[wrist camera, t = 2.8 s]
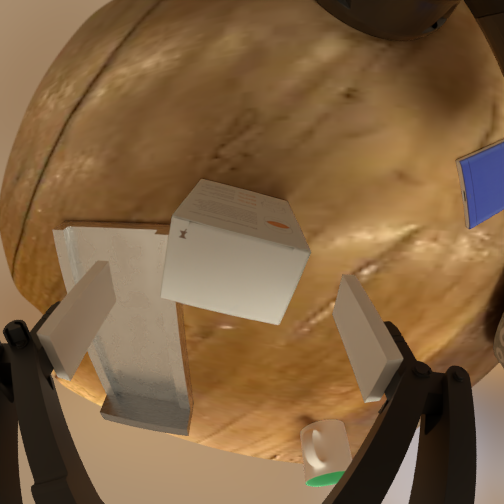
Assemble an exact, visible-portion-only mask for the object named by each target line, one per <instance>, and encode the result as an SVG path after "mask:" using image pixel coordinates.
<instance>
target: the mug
mask: <svg viewBox="0 0 504 504" xmlns="http://www.w3.org/2000/svg"><path fill="white" fill-rule="evenodd" d="M300 438H301V447H302V455H303V464H304V473H305V482H306V485H308V486H314V487H317V486H327V485H332V484H336V483H338V481H339V480H340V478H341V477H342V475H343V474H344V472H345V471H346V469H347V468H348V466H349V465H350V463H351V462H352V457H351V452H350V447H349V443H348V439H347V434H346V430H345V426H344V423H343V422H342V421H340V420H335V419H328V420H321V421H317V422H314V423H311V424H309V425H307V426H306V427H304V428H303V429H302V430H301V431H300Z"/></svg>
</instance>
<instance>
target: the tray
mask: <svg viewBox="0 0 504 504" xmlns="http://www.w3.org/2000/svg"><path fill="white" fill-rule="evenodd" d="M169 230H170V224H149V223H121V222H88V221H64V222H63V223H62V224H60V225H59V226H57V227H56V228H54V229H53V235H54V240H55V245H56V250H57V254H58V259H59V263H60V267H61V271H62V275H63V279H64V283H65V286H66V290H67V293H69V292H70V291H71V290H72V288H73V287H74V286H75V285H76V284H77V283H78V282H79V280H80V279H81V278H82V277H83V276H84V275H85V274H86V273H87V271H88V270H89V269H90V268H91V267H92V266H93V265H94V264H95V263H96V262H97V261H98V260H100V261H109V265H110V271H111V276H112V282H113V287H114V292H115V297H116V303H115V304H114V306H113V308H112V309H111V311H110V312H109V314H108V316H107V317H106V319H105V321H104V322H103V324H102V326H101V327H100V329H99V331H98V332H97V334H96V336H95V338H94V339H93V341H92V343H91V344H90V346H89V348H88V350H87V351H88V353H89V356H90V358H91V361H92V363H93V365H94V368H95V370H96V372H97V375H98V377H99V379H100V381H101V383H102V385H103V387H104V390H105V392H106V394H107V396H106V398H105V401H104V403H103V405H102V408H101V411H100V413H101V415H102V417H103V418H104V419H105V420H109V421H113V422H117V423H121V424H125V425H129V426H134V427H139V428H143V429H148V430H153V431H159V432H165V433H171V434H177V435H184V436H189V430H190V424H191V417H192V411H193V405H194V401H193V395H192V388H191V381H190V373H189V365H188V357H187V349H186V340H185V330H184V320H183V309H182V303H178V302H174V301H170V300H167V299H162V298H161V297H160V292H161V285H162V277H163V270H164V263H165V256H166V249H167V242H168V236H169Z"/></svg>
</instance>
